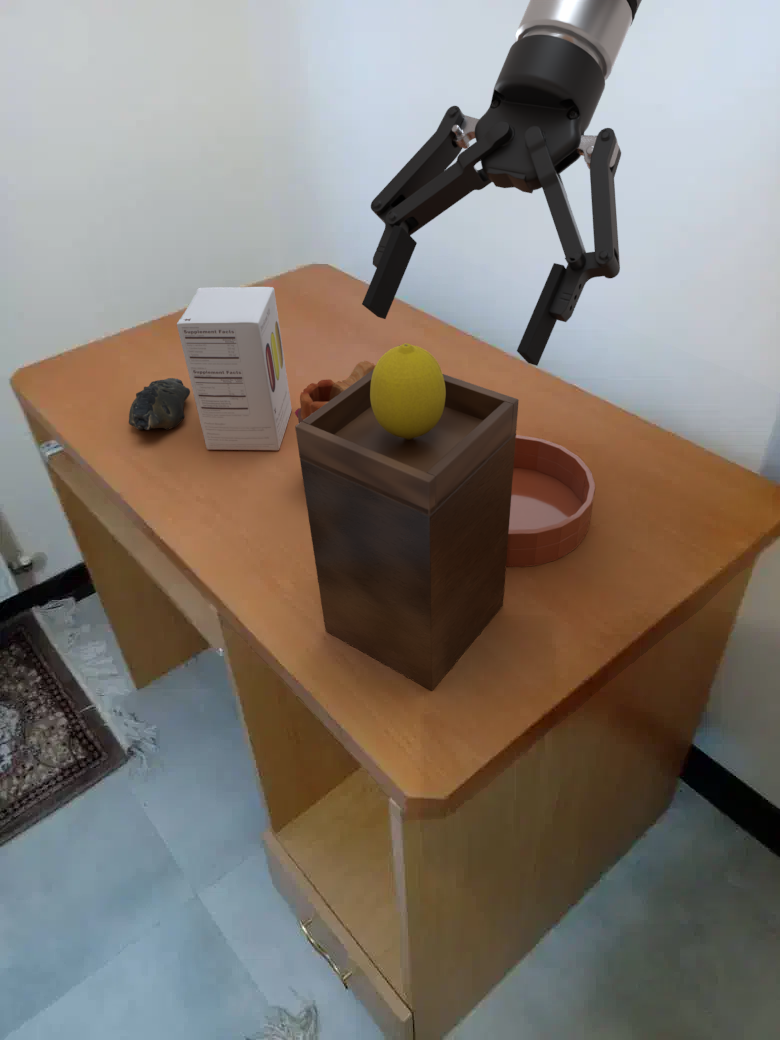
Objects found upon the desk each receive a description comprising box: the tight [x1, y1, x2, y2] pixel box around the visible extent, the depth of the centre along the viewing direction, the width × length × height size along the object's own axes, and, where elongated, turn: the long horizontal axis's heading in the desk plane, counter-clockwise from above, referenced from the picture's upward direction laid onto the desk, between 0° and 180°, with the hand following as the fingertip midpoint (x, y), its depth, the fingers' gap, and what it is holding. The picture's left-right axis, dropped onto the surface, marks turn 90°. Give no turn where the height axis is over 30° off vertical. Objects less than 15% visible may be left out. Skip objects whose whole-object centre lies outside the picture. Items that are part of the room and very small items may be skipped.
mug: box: [294, 360, 376, 424], centre depth 87 cm, size 12×7×13 cm, turn 133°
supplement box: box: [176, 286, 293, 451], centre depth 93 cm, size 10×9×17 cm
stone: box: [128, 377, 191, 431], centre depth 100 cm, size 7×13×5 cm, turn 177°
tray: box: [294, 369, 520, 515], centre depth 60 cm, size 12×12×3 cm
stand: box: [299, 431, 517, 692], centre depth 67 cm, size 12×12×20 cm
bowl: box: [506, 434, 596, 568], centre depth 83 cm, size 16×16×4 cm
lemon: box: [370, 342, 446, 440], centre depth 58 cm, size 6×6×8 cm
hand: (446, 334), depth 59 cm, fingers open, 13 cm apart
